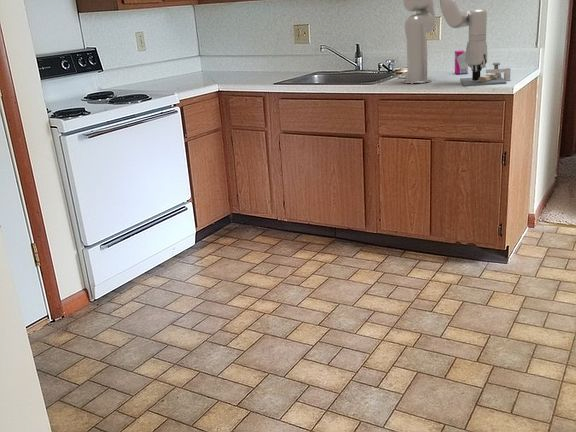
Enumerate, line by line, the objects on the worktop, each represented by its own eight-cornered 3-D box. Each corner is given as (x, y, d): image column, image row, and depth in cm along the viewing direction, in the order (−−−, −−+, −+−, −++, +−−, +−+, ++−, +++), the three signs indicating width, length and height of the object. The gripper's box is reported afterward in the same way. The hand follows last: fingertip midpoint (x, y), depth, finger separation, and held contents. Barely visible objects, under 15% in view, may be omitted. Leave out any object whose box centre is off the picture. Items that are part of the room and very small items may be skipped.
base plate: (463, 86, 277) (463, 84, 277) (460, 80, 295) (460, 78, 295) (506, 83, 273) (506, 81, 273) (500, 77, 291) (500, 76, 291)
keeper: (486, 82, 283) (486, 70, 281) (486, 81, 285) (486, 69, 283) (510, 80, 281) (510, 68, 279) (509, 79, 283) (509, 68, 281)
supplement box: (466, 72, 318) (466, 49, 315) (468, 74, 313) (468, 50, 309) (454, 73, 319) (454, 50, 315) (456, 74, 314) (456, 51, 310)
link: (493, 75, 292) (493, 62, 290) (502, 75, 289) (502, 62, 287) (476, 81, 279) (477, 67, 277) (486, 81, 276) (486, 67, 274)
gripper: (459, 38, 280) (458, 79, 286) (481, 39, 267) (480, 82, 273) (473, 37, 282) (472, 77, 289) (495, 38, 269) (494, 80, 275)
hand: (476, 80), depth 281 cm, fingers closed
